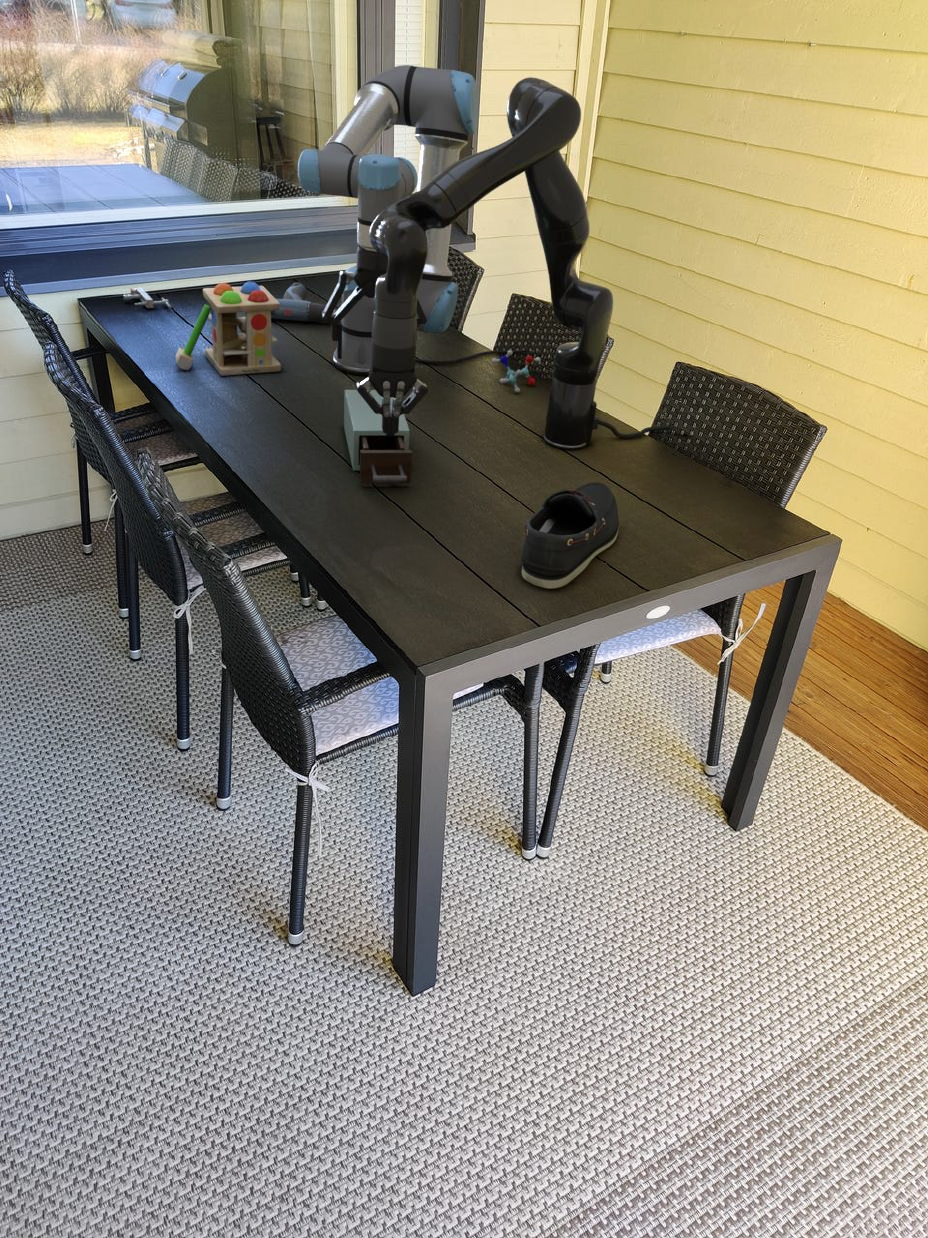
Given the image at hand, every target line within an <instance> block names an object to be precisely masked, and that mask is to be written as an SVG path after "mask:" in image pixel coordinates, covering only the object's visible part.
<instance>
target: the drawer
mask: <svg viewBox="0 0 928 1238" xmlns="http://www.w3.org/2000/svg"><path fill="white" fill-rule="evenodd" d="M359 456H360V470H359V484H360V485H371V484H372V485H375V484H376V485H379V484H381V485H383V484H384V485H385V484H388V485H389V484H411V479H412V477H411V475H412V459H413V451H412V449H409V450H405V447H404V444H403V441H402V437H401V435H395V436H386V435H359Z"/></svg>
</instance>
